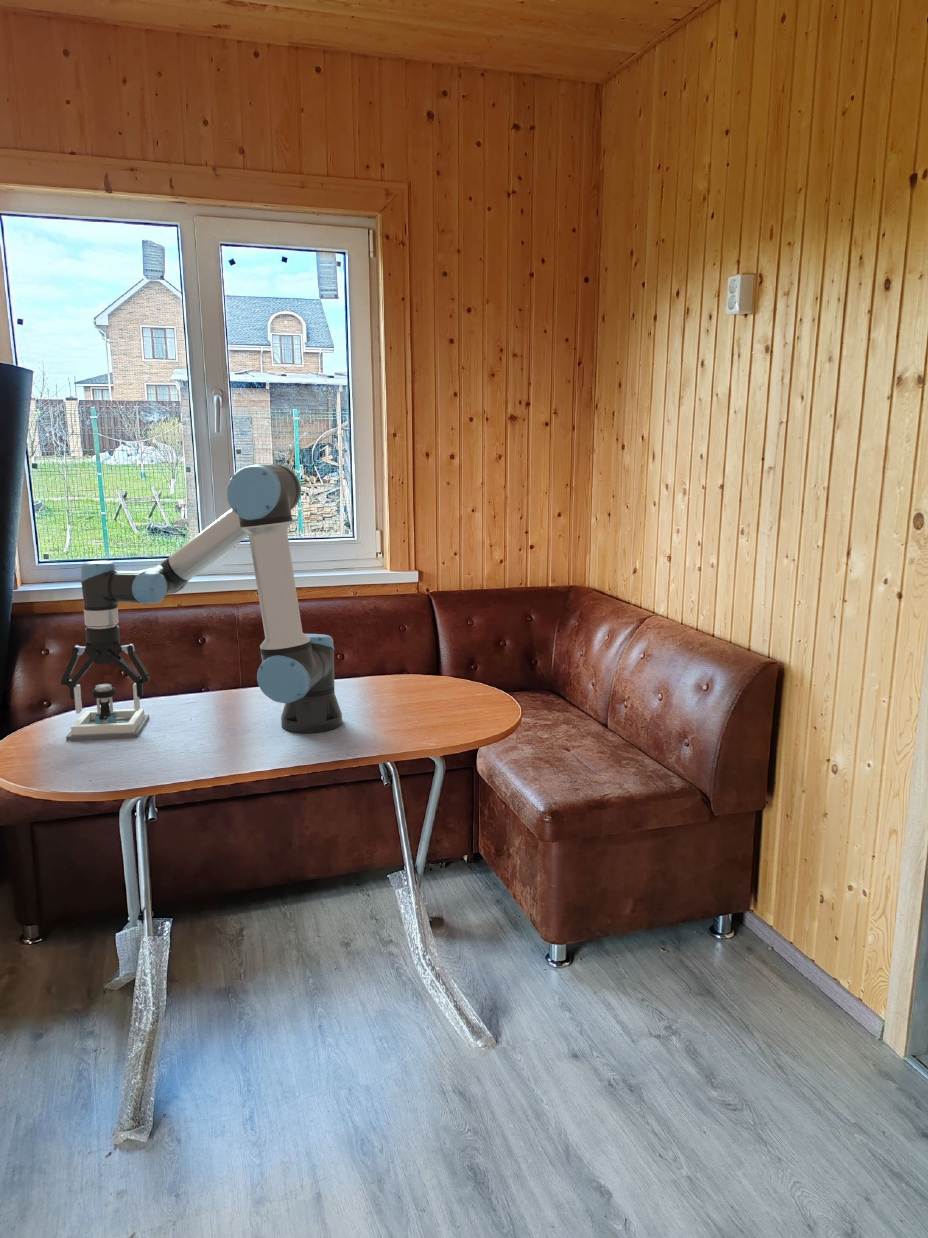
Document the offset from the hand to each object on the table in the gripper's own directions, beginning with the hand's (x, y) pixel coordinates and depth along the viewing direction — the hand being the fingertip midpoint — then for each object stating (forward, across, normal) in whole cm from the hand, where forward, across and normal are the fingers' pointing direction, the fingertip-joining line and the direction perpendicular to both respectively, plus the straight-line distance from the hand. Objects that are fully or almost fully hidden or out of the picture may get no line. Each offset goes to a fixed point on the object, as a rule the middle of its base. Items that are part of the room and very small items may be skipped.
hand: (108, 711), depth 207 cm
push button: (+4, 0, 0) cm, 4 cm away
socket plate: (+5, 0, 0) cm, 5 cm away
